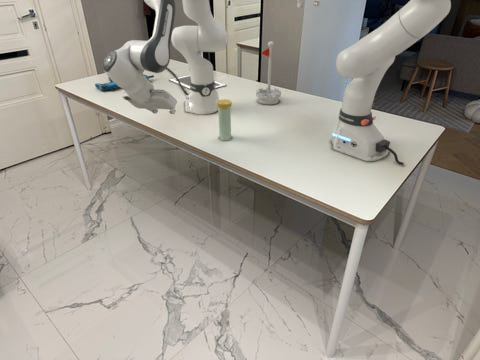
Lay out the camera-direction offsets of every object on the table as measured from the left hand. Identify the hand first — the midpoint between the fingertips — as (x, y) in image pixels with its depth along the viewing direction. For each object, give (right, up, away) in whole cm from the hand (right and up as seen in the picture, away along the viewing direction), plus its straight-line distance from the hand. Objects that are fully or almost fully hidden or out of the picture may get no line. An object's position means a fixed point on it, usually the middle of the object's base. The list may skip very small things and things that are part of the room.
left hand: (164, 112), depth 133 cm
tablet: (+3, +33, +75) cm, 82 cm away
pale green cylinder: (+23, -9, +11) cm, 27 cm away
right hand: (+57, +42, +1) cm, 71 cm away
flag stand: (+45, +16, +48) cm, 68 cm away
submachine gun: (-42, +33, +75) cm, 92 cm away
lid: (+23, +4, +2) cm, 24 cm away
